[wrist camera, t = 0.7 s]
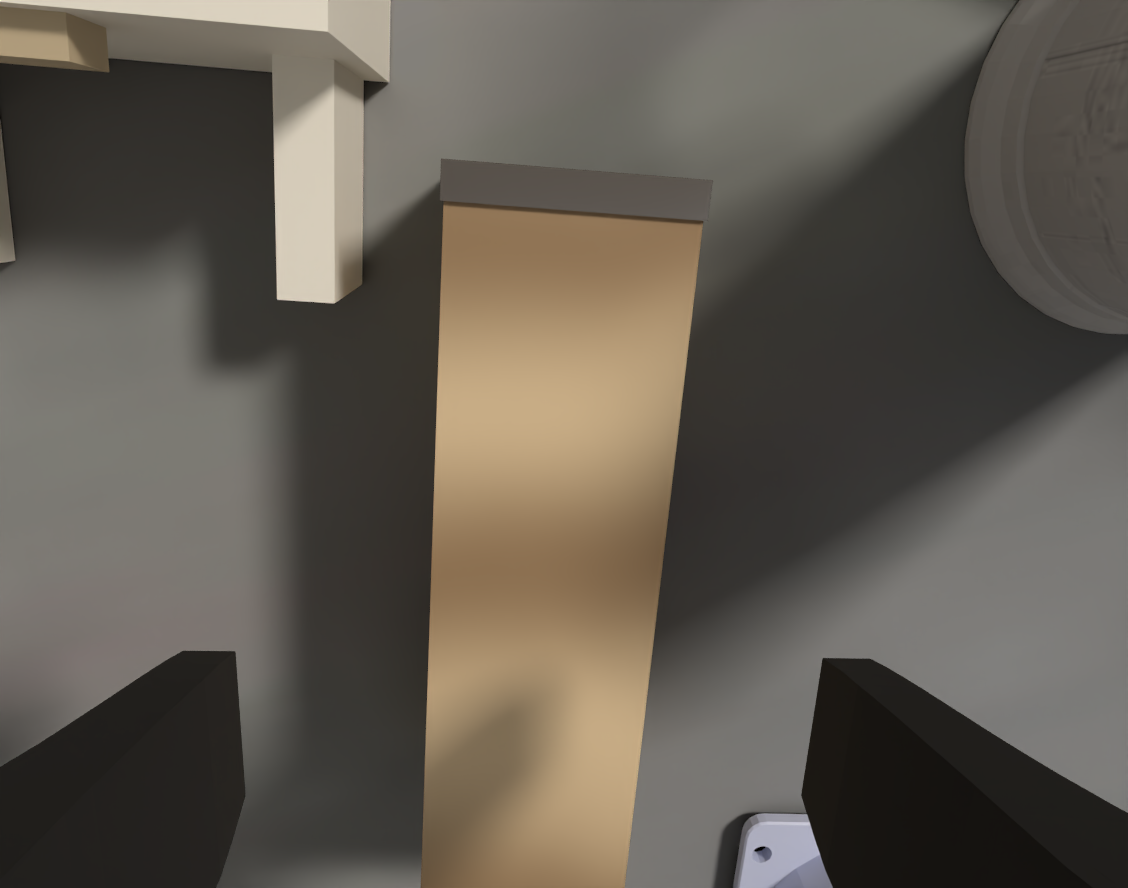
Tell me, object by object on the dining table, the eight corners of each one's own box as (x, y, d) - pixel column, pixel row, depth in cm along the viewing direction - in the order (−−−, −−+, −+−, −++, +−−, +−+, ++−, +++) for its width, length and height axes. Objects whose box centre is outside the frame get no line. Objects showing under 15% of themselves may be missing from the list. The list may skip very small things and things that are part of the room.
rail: (599, 753, 22) (624, 916, 17) (437, 748, 22) (416, 913, 17) (657, 180, 18) (712, 180, 13) (460, 165, 18) (441, 158, 13)
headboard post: (385, 285, 18) (329, 333, 12) (-62, 255, 17) (-343, 291, 12) (391, -54, 16) (327, -181, 11) (-110, -103, 16) (-471, -270, 10)
